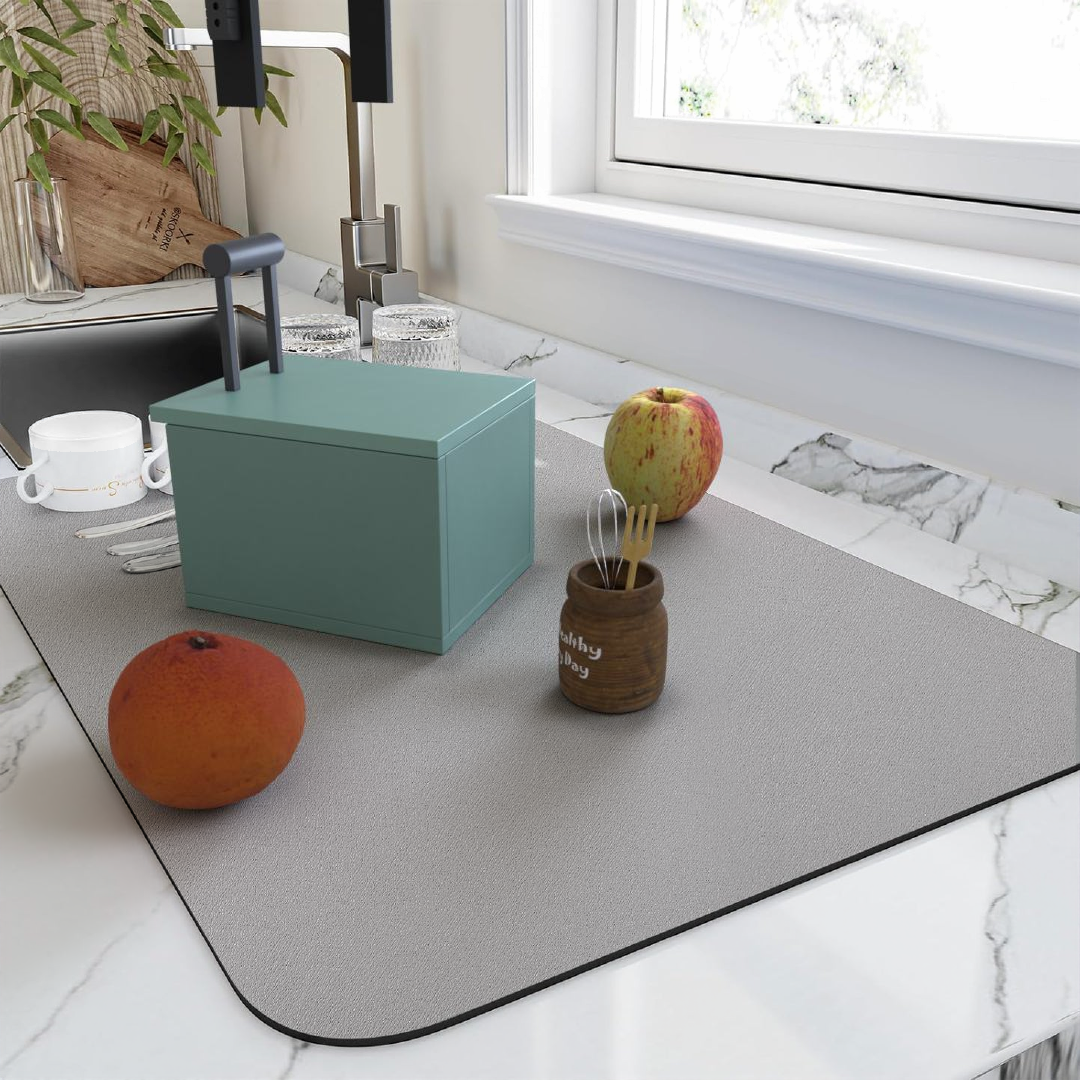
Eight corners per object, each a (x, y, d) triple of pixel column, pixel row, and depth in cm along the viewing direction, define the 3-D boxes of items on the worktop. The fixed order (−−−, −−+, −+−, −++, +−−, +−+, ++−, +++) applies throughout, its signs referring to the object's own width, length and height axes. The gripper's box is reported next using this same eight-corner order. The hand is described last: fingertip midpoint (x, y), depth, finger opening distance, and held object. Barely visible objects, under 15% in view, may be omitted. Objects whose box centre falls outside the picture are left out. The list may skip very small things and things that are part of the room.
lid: (150, 421, 69) (129, 251, 65) (286, 367, 82) (275, 222, 79) (437, 458, 63) (433, 273, 59) (535, 393, 76) (536, 238, 72)
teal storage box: (185, 606, 73) (164, 424, 69) (309, 526, 86) (298, 369, 82) (442, 655, 68) (438, 459, 63) (534, 562, 81) (535, 394, 76)
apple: (735, 530, 87) (745, 400, 83) (620, 539, 85) (625, 407, 81) (693, 490, 95) (700, 370, 91) (587, 498, 93) (590, 376, 89)
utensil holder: (639, 657, 68) (648, 462, 63) (685, 710, 62) (698, 499, 57) (543, 672, 66) (545, 471, 61) (581, 727, 60) (587, 511, 56)
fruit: (327, 817, 53) (315, 661, 50) (122, 858, 50) (97, 695, 47) (294, 722, 60) (283, 582, 57) (115, 753, 58) (93, 607, 55)
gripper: (189, -413, 50) (231, 111, 58) (460, -267, 71) (463, 102, 79) (58, -390, 53) (115, 107, 61) (356, -256, 74) (369, 99, 82)
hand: (312, 105), depth 70 cm, fingers open, 13 cm apart
